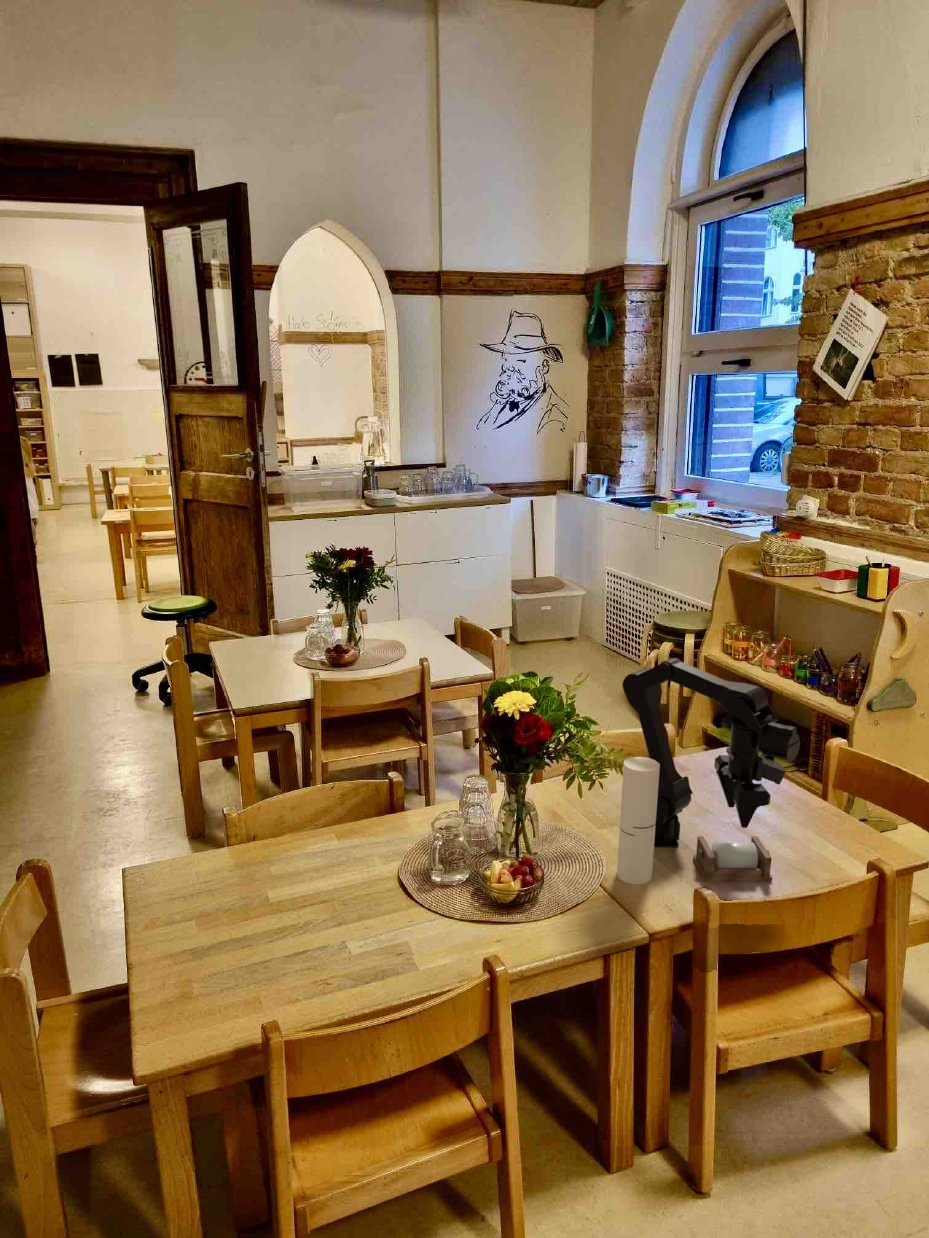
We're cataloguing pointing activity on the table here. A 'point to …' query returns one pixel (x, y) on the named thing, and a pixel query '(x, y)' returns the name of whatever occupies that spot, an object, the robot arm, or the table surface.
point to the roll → (735, 855)
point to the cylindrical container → (638, 819)
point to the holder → (710, 874)
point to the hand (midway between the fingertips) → (737, 817)
